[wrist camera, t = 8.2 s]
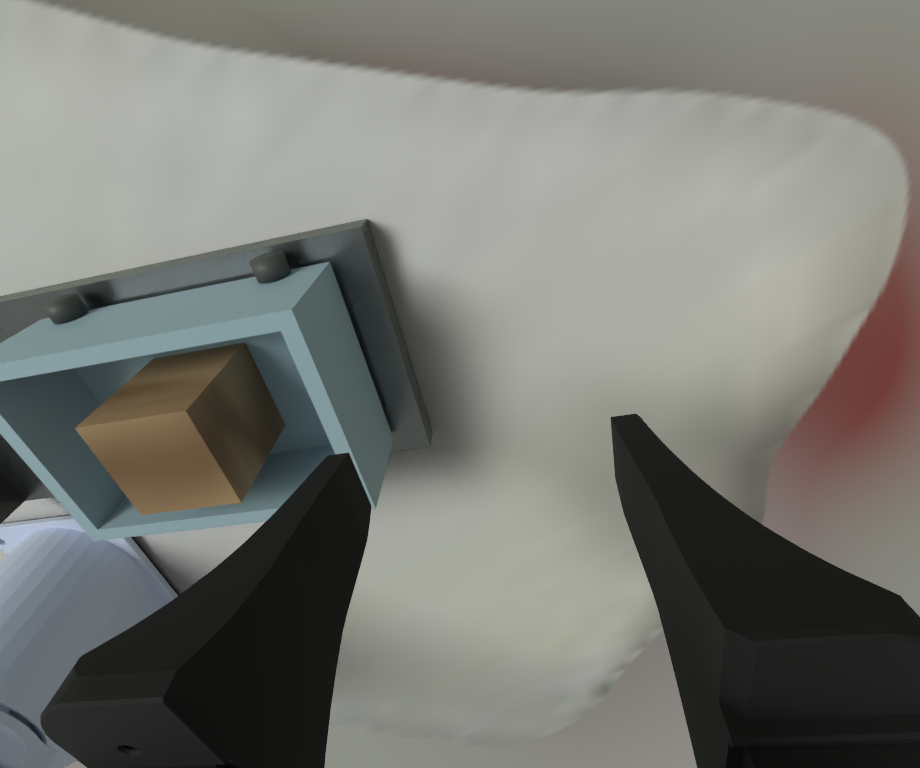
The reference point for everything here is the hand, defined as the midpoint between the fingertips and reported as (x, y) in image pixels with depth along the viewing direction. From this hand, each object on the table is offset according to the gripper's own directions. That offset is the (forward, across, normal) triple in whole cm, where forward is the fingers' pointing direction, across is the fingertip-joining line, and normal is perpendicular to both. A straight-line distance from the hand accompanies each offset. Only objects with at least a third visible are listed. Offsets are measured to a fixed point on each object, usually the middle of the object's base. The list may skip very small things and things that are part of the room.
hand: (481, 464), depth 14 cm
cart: (+7, +11, 0) cm, 13 cm away
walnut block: (+6, +11, 0) cm, 13 cm away
